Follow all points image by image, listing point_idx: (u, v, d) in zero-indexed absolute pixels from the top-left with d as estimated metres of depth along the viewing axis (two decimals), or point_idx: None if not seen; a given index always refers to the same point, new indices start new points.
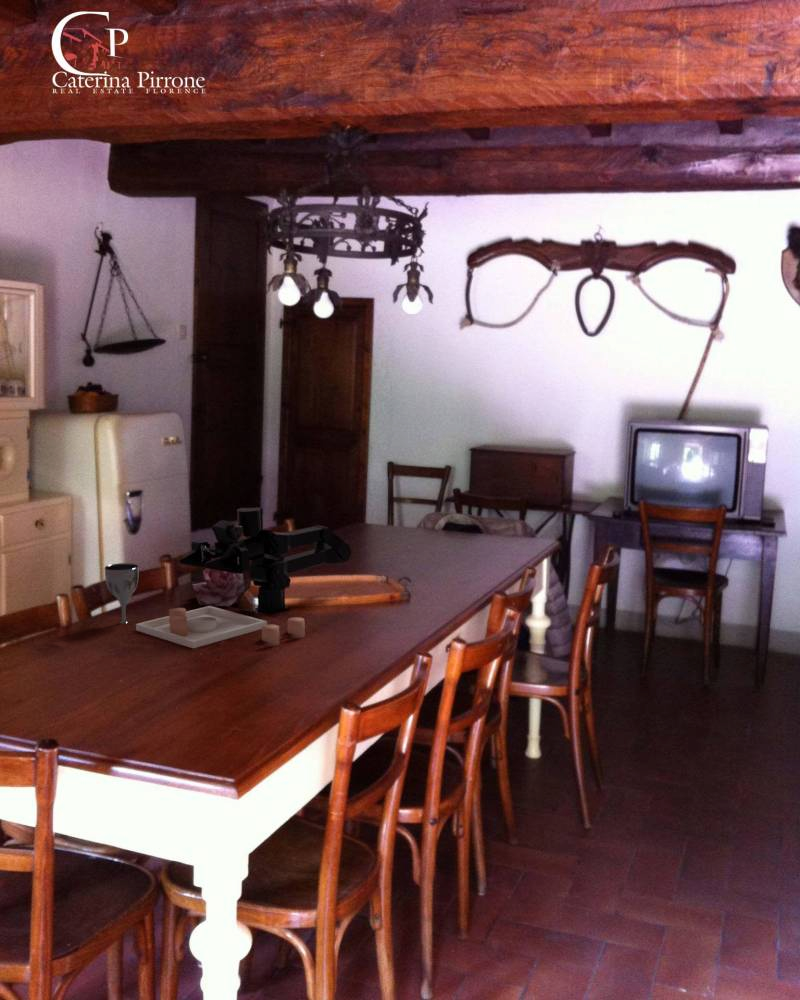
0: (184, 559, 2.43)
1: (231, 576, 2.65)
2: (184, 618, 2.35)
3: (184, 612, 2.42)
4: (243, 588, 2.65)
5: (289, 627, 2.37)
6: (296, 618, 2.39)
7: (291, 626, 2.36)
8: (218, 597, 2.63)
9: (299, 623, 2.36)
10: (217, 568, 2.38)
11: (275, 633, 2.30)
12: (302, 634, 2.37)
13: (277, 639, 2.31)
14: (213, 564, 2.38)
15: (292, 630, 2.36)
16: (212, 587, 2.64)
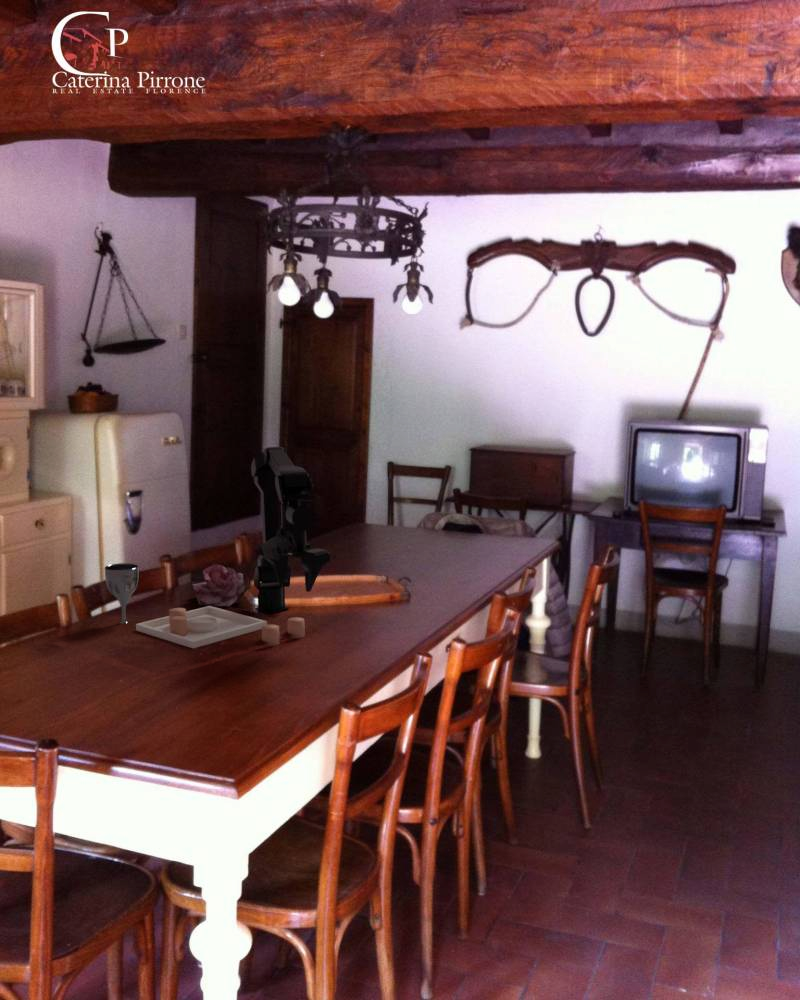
0: (281, 581, 2.39)
1: (231, 576, 2.65)
2: (184, 618, 2.35)
3: (184, 612, 2.42)
4: (243, 588, 2.65)
5: (289, 627, 2.37)
6: (296, 618, 2.39)
7: (291, 626, 2.36)
8: (218, 597, 2.63)
9: (299, 623, 2.36)
10: (314, 579, 2.33)
11: (275, 633, 2.30)
12: (302, 634, 2.37)
13: (277, 639, 2.31)
14: (310, 583, 2.33)
15: (292, 630, 2.36)
16: (212, 587, 2.64)
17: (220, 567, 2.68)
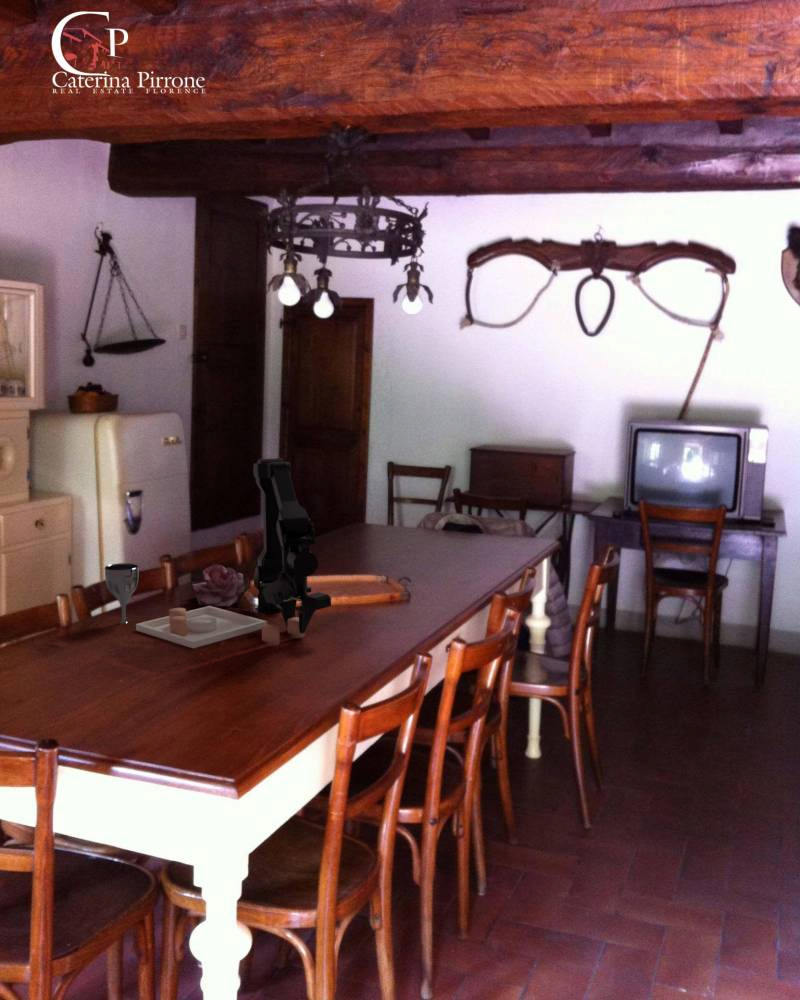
0: None
1: (231, 576, 2.65)
2: (184, 618, 2.35)
3: (184, 612, 2.42)
4: (243, 588, 2.65)
5: (289, 627, 2.37)
6: (296, 618, 2.39)
7: (291, 626, 2.36)
8: (218, 597, 2.63)
9: None
10: (308, 621, 2.37)
11: (275, 633, 2.30)
12: (302, 634, 2.37)
13: (277, 639, 2.31)
14: (304, 625, 2.36)
15: (292, 630, 2.36)
16: (212, 587, 2.64)
17: (220, 567, 2.68)
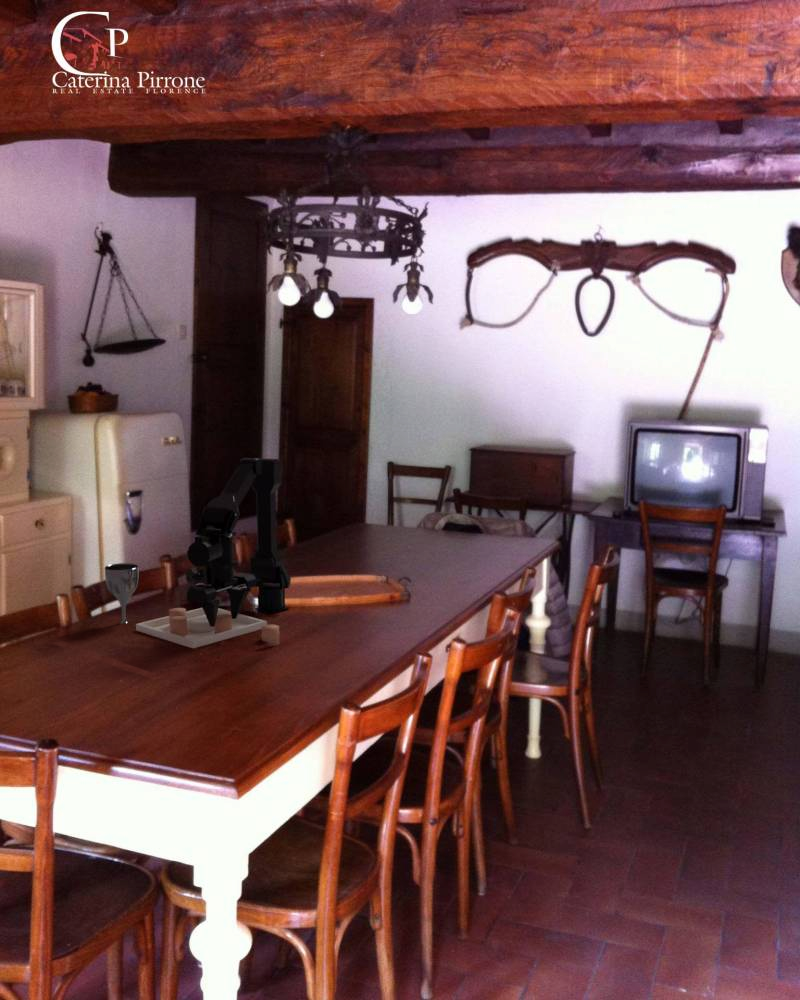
0: (232, 614, 2.40)
1: None
2: (184, 618, 2.35)
3: (184, 612, 2.42)
4: None
5: None
6: (227, 616, 2.37)
7: None
8: (218, 597, 2.63)
9: None
10: (212, 616, 2.32)
11: (275, 633, 2.30)
12: (218, 631, 2.36)
13: (277, 639, 2.31)
14: (209, 619, 2.33)
15: None
16: None
17: None
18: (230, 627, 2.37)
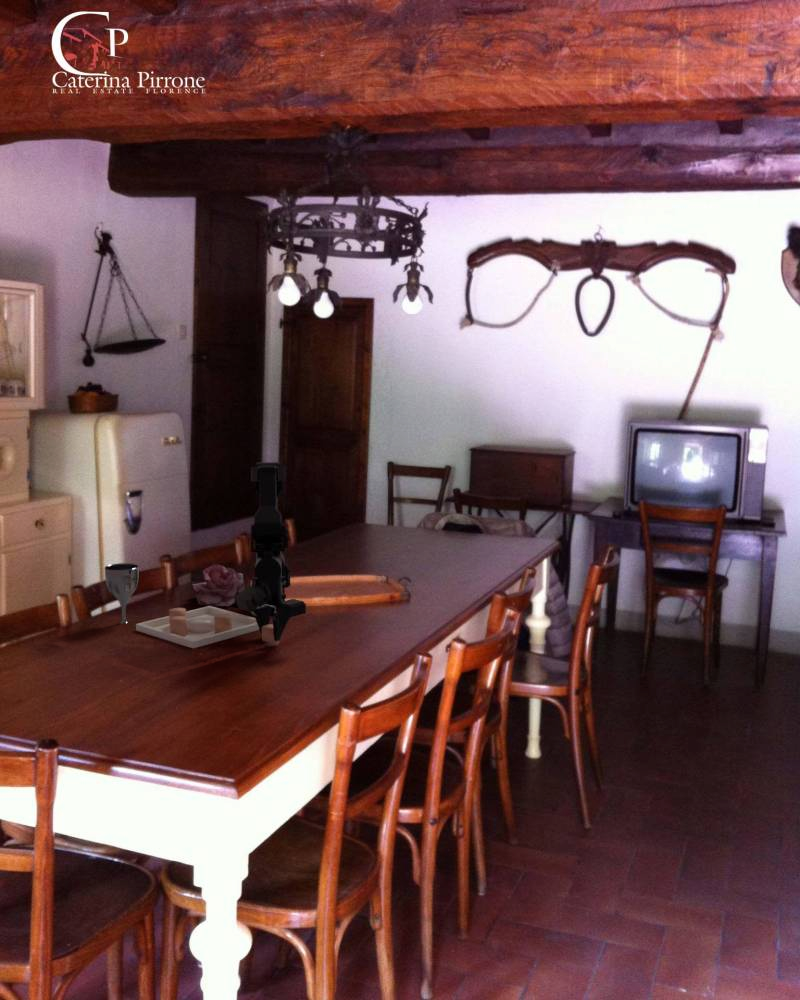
0: None
1: (231, 576, 2.66)
2: (184, 618, 2.35)
3: (184, 612, 2.42)
4: (243, 588, 2.65)
5: None
6: (227, 616, 2.37)
7: None
8: (218, 597, 2.63)
9: (215, 619, 2.36)
10: (283, 628, 2.31)
11: None
12: (218, 631, 2.36)
13: None
14: (279, 633, 2.30)
15: None
16: (212, 587, 2.64)
17: (220, 567, 2.69)
18: (230, 627, 2.37)
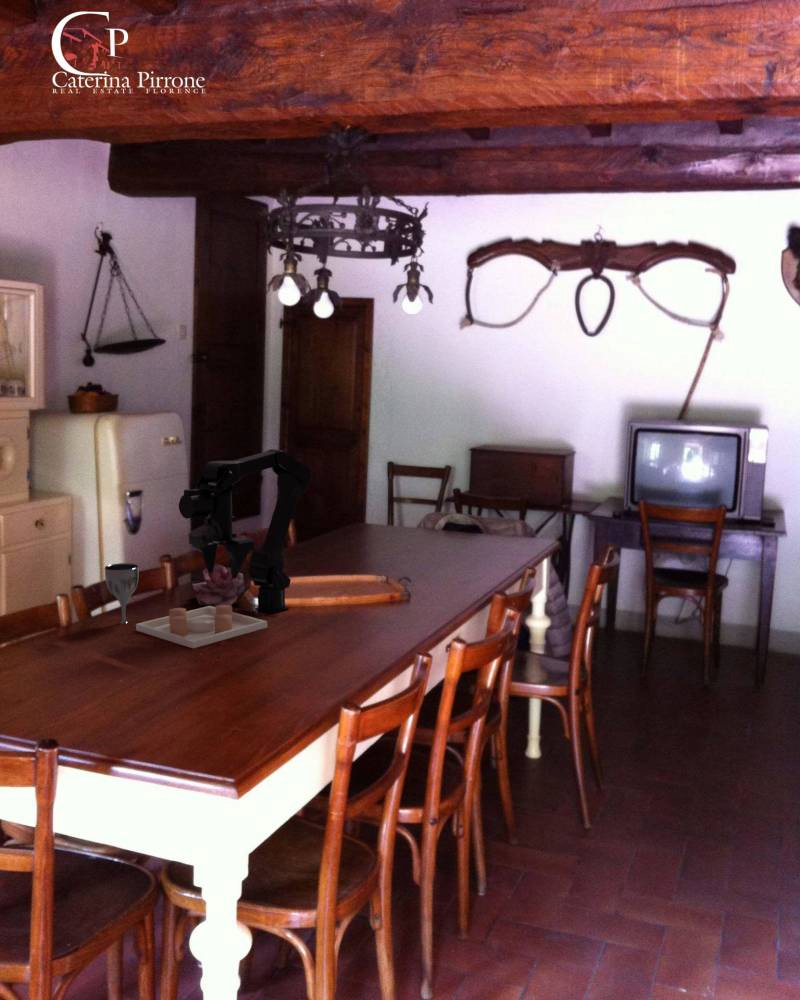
0: (209, 568, 2.50)
1: (231, 576, 2.65)
2: (184, 618, 2.35)
3: (184, 612, 2.42)
4: (243, 588, 2.65)
5: None
6: (227, 616, 2.37)
7: None
8: (218, 597, 2.63)
9: (215, 619, 2.36)
10: (240, 566, 2.45)
11: (227, 612, 2.44)
12: (218, 631, 2.36)
13: None
14: (236, 570, 2.44)
15: None
16: (212, 587, 2.64)
17: (220, 567, 2.68)
18: (230, 627, 2.37)
